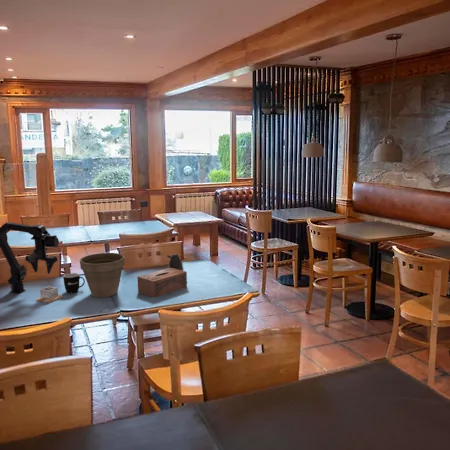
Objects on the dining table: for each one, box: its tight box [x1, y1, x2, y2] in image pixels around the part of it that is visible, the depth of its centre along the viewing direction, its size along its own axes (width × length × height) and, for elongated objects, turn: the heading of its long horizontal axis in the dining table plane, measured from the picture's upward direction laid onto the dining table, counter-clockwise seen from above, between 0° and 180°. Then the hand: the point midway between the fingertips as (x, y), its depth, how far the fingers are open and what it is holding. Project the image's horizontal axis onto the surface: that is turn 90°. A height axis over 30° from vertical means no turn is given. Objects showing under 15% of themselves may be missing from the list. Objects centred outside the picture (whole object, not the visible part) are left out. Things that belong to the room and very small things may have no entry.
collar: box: [39, 286, 59, 300], centre depth 274 cm, size 7×7×5 cm
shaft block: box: [35, 288, 63, 304], centre depth 274 cm, size 10×10×6 cm
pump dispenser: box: [166, 253, 184, 271], centre depth 315 cm, size 10×10×15 cm
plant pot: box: [79, 252, 125, 298], centre depth 281 cm, size 25×25×22 cm
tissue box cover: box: [137, 267, 188, 299], centre depth 289 cm, size 26×14×10 cm, turn 138°
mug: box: [62, 272, 86, 294], centre depth 287 cm, size 12×9×10 cm
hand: (42, 272), depth 284 cm, fingers open, 9 cm apart
